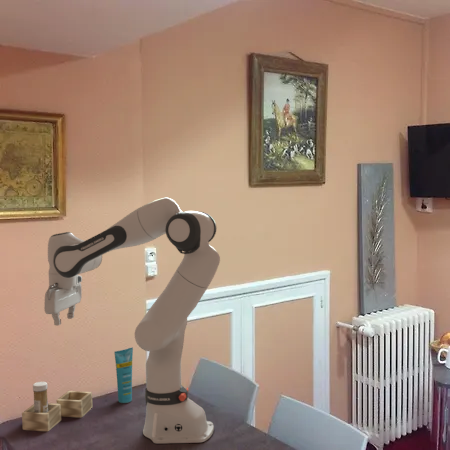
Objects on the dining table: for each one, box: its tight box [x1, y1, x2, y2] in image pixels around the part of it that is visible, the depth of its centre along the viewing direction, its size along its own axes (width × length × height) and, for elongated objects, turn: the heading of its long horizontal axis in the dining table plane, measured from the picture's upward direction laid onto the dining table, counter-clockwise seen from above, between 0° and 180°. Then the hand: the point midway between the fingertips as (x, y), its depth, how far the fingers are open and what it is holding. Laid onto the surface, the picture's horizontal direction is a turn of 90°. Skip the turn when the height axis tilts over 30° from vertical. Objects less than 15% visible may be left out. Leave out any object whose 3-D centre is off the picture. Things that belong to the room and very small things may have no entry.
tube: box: [113, 347, 134, 404], centre depth 214 cm, size 7×5×19 cm, turn 134°
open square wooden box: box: [21, 402, 62, 432], centre depth 195 cm, size 9×9×6 cm
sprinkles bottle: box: [32, 381, 49, 413], centre depth 194 cm, size 5×5×14 cm
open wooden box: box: [56, 390, 93, 419], centre depth 205 cm, size 9×9×6 cm
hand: (64, 321), depth 198 cm, fingers open, 8 cm apart
